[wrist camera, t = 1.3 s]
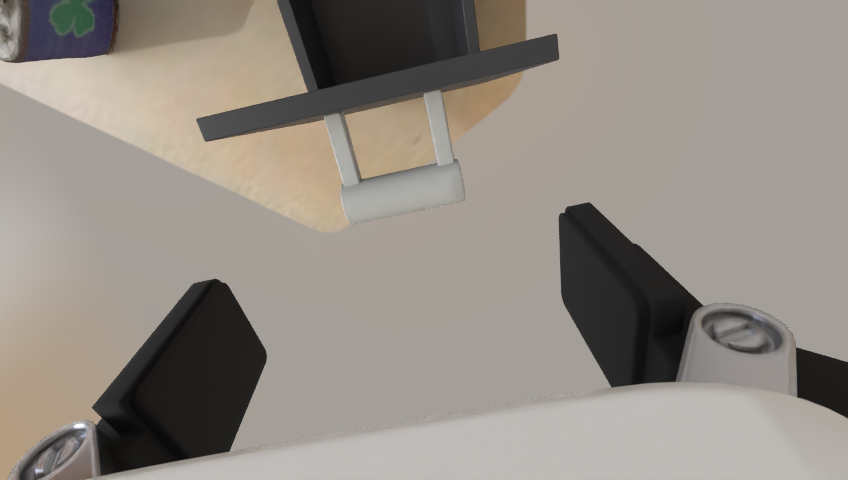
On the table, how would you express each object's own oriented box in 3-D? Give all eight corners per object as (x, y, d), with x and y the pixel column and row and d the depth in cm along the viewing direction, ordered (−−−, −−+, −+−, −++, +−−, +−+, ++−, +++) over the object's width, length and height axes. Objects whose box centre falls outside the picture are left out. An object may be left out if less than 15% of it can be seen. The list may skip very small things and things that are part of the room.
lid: (195, 119, 13) (251, 258, 15) (557, 33, 12) (571, 191, 14) (312, 110, 28) (334, 182, 29) (483, 70, 27) (494, 146, 29)
